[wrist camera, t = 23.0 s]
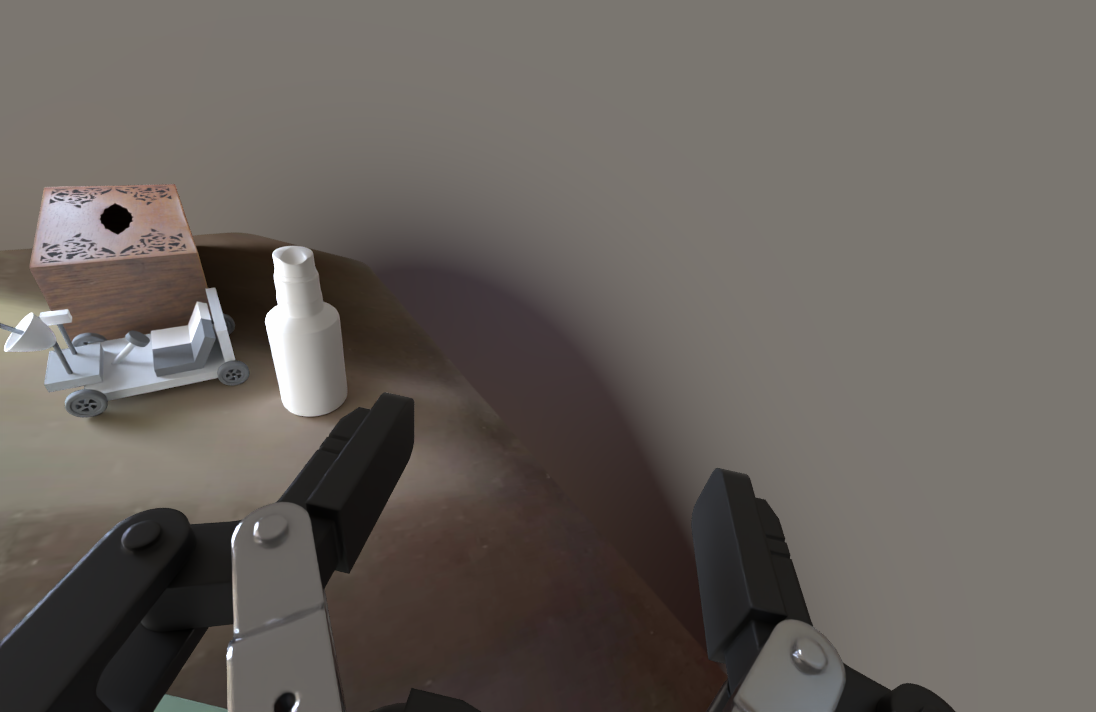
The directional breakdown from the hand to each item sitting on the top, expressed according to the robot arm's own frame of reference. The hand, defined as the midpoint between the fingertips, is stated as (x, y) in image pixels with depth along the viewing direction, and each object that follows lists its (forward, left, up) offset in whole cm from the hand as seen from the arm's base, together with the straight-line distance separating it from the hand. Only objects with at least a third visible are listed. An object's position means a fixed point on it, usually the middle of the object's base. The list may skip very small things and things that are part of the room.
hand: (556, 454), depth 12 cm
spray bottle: (+39, -8, -30) cm, 50 cm away
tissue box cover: (+74, 0, -30) cm, 80 cm away
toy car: (+53, +4, -30) cm, 61 cm away
